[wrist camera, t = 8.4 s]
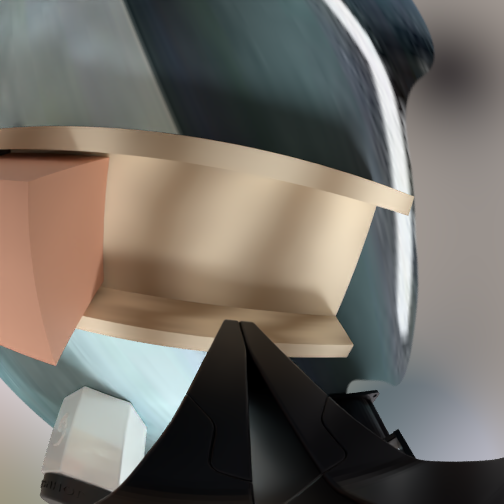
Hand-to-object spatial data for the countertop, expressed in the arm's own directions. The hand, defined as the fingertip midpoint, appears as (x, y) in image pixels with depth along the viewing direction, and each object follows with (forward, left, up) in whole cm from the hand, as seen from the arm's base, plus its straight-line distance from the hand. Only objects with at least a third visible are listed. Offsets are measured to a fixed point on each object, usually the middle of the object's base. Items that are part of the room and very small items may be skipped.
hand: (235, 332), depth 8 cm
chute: (+3, 0, -8) cm, 9 cm away
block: (+10, 0, -7) cm, 12 cm away
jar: (+9, +20, -9) cm, 24 cm away
